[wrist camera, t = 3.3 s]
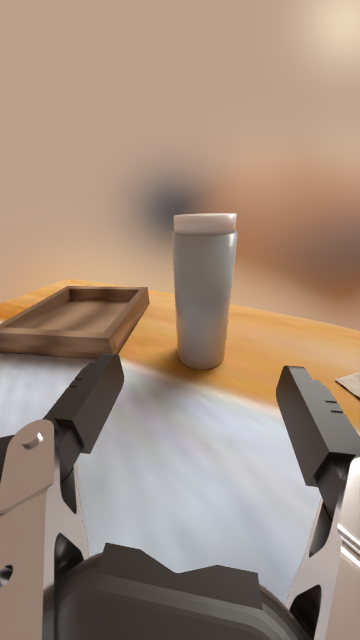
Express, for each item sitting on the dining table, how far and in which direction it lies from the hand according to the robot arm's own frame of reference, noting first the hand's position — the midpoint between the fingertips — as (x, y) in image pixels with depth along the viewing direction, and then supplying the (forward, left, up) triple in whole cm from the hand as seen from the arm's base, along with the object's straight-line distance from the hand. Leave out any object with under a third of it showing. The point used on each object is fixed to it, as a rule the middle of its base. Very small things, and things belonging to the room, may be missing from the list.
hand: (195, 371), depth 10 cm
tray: (-16, +14, -7) cm, 22 cm away
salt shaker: (0, +9, -7) cm, 11 cm away
